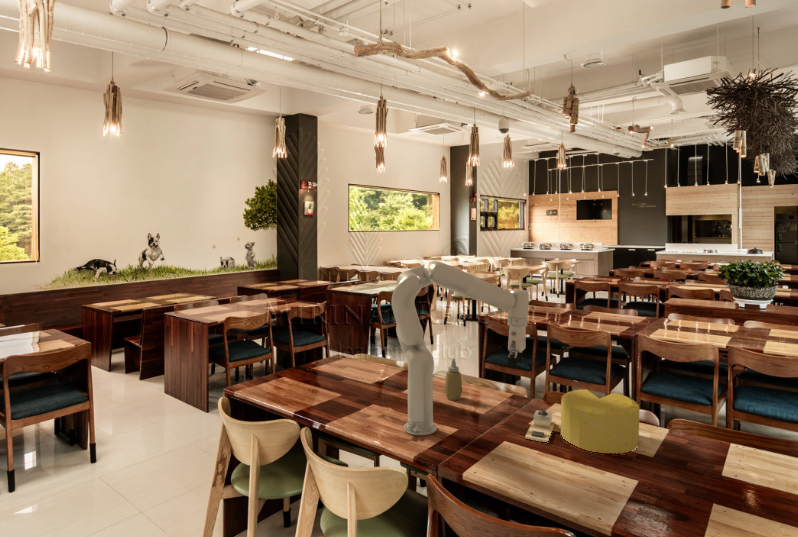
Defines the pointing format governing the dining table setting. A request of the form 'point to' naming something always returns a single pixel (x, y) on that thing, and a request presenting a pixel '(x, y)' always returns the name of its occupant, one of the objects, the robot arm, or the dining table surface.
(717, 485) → the dining table surface
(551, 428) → the peg board
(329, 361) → the dining table surface
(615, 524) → the dining table surface
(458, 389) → the squeeze bottle
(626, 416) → the cheese
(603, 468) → the dining table surface
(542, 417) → the link
